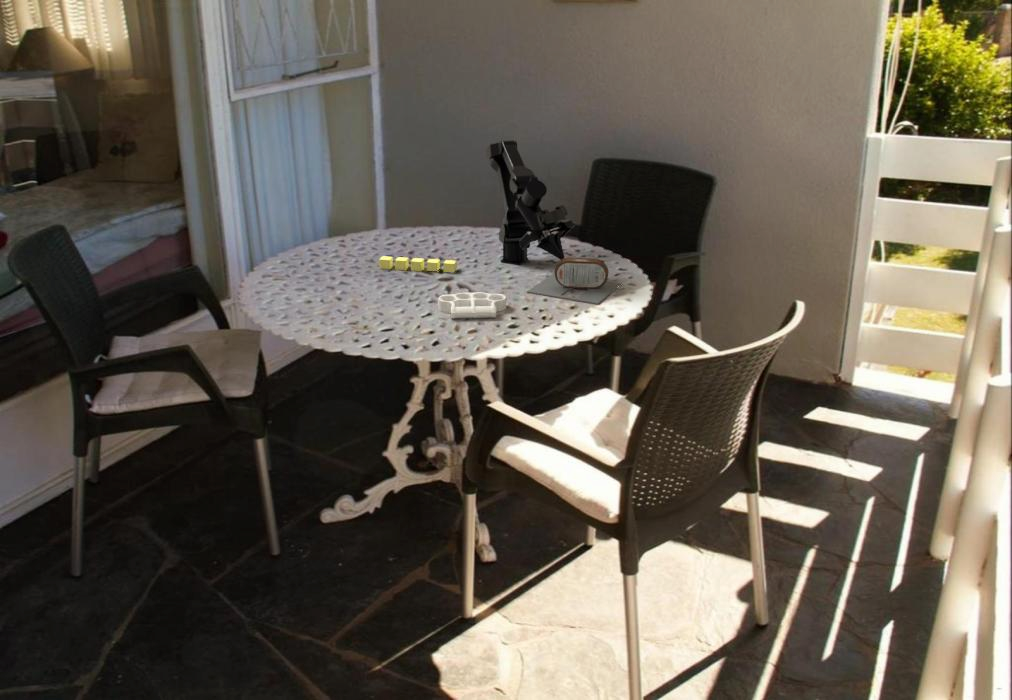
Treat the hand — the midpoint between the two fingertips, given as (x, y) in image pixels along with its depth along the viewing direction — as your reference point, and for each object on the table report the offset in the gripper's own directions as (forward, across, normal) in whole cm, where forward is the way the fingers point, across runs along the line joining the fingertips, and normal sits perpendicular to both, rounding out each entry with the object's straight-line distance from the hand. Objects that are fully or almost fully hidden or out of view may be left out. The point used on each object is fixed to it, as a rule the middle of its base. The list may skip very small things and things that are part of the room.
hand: (562, 258), depth 284 cm
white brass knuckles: (+3, -33, +9) cm, 34 cm away
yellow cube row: (-24, -17, +35) cm, 46 cm away
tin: (+10, 0, +1) cm, 10 cm away
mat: (+9, -1, +2) cm, 9 cm away
